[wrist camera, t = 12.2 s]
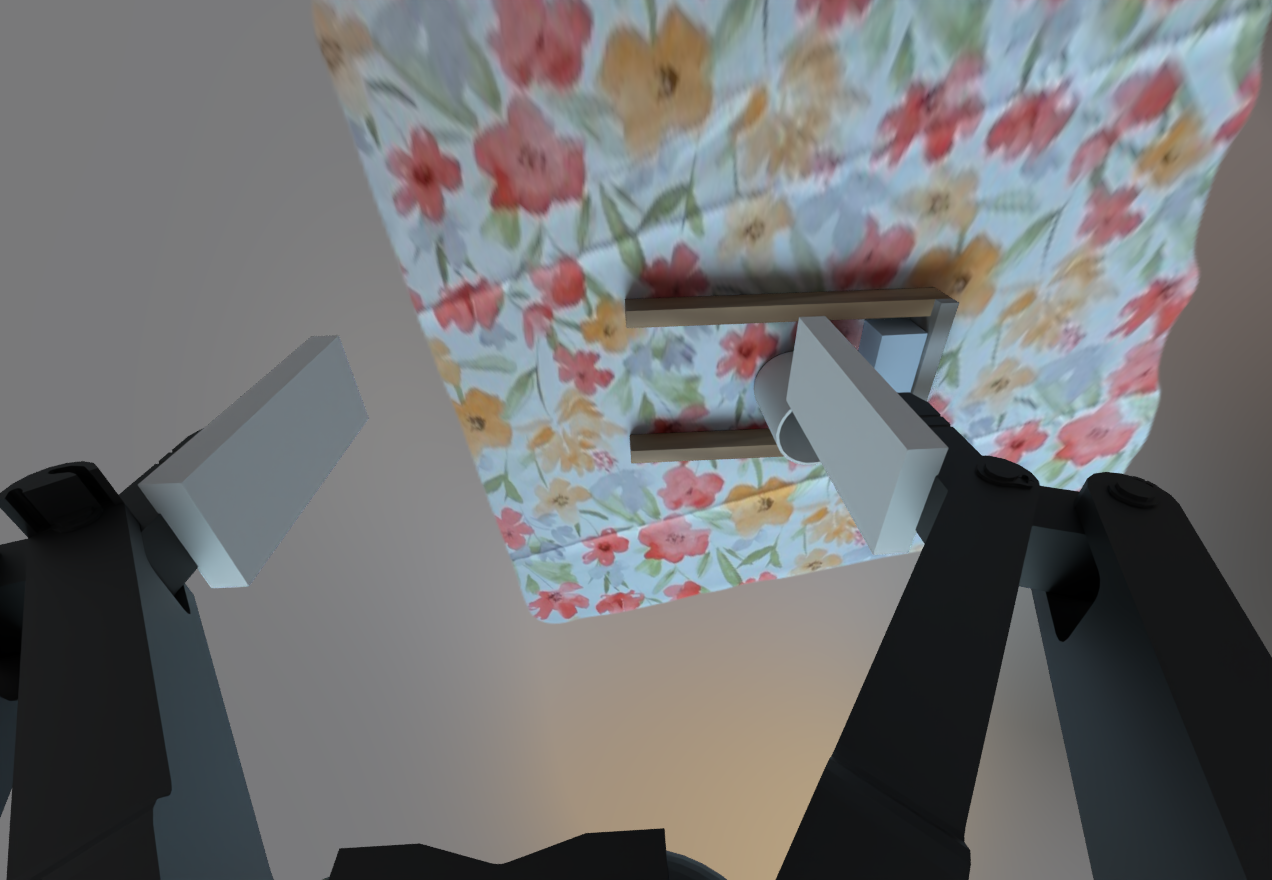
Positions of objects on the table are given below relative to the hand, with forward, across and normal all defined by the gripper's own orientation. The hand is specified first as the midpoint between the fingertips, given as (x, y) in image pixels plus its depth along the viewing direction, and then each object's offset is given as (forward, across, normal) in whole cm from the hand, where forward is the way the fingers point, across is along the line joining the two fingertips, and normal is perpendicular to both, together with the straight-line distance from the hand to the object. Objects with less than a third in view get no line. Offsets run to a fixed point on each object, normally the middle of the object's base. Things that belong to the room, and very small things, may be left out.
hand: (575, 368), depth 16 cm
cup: (+32, +18, -17) cm, 40 cm away
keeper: (+30, +24, -17) cm, 42 cm away
